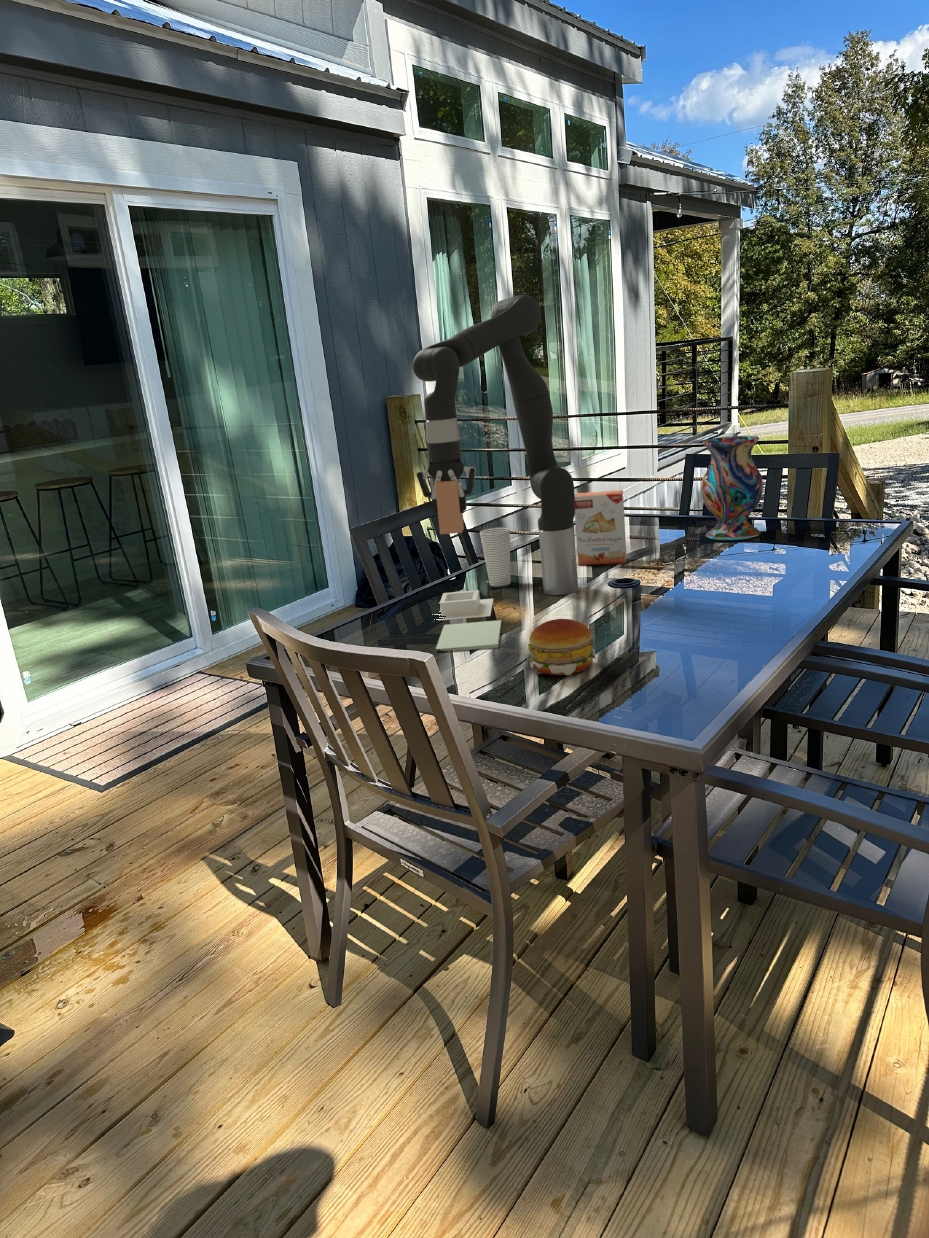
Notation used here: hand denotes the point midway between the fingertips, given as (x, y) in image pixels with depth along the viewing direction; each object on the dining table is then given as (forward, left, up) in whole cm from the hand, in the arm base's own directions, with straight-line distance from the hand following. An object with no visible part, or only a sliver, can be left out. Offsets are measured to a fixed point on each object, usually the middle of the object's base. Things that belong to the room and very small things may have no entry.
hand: (450, 513), depth 200 cm
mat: (-2, +8, -28) cm, 29 cm away
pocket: (+2, -14, -28) cm, 31 cm away
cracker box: (-37, -54, -28) cm, 72 cm away
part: (0, 0, -4) cm, 4 cm away
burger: (-23, +33, -28) cm, 49 cm away
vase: (-79, -74, -28) cm, 112 cm away
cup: (-7, -39, -28) cm, 49 cm away
